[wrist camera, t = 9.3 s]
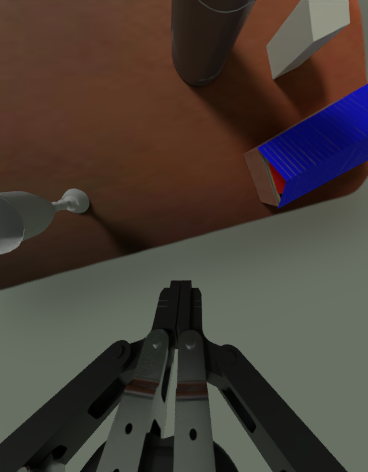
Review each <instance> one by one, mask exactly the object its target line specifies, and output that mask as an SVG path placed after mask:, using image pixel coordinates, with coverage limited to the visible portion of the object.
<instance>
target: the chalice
mask: <svg viewBox="0 0 368 472" xmlns="http://www.w3.org/2000/svg"><path fill="white" fill-rule="evenodd" d="M88 208H89V199H88V197H87V195H86V194H85V193H84V192H82V191H81V190H78V189H70V190H68V191H66V193H65V194H64V196H63V197H62V200H59V201H58V202H52V203H51V202H49V201H48V200H46V199H44V198H42V197H40V196H37V195H33V194H30V193H27V192H17V191H16V192H5V193H0V254H3V253H7V252H10V251H12V250H13V249H15V248H16V247H18V246H19V244H20V243H21V242H22V241H24V240H26V239H28V238H31V237H33V236H35V235H38V234H40V233H41V232H43V231H44V230H45V229H46V228H47V227H48V225H49V224H50V223H51V221H52V220H53V217H54V215H55V211H59V210H60V209H62V210H65V209H67V210H68V211H71V212H74V213H83V212H85V211H86V210H87V209H88Z"/></svg>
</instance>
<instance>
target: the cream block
mask: <svg viewBox="0 0 368 472" xmlns="http://www.w3.org/2000/svg"><path fill="white" fill-rule="evenodd" d="M349 23H350V20H349V2H348V0H301V1H300V2H299V3H298V5H297V6H296V7H295V9H294V10H293V11H292V13H291V14H290V15H289V17H288V18H287V19H286V21H285V22H284V23H283V25H282V26H281V27H280V29H279V30H278V31H277V33H276V34H275V35H274V37H273V38H272V39H271V41H270V42H269V43H268V45H267V46H266V47H267V52H268V57H269V62H270V67H271V72H272V77H273V79H275V78H277V77H279V76H281V75H283V74H285V73H287V72H289V71H291V70H293V69H295V68H297V67H299V66H300V65H301V64H302V63H303V62H305V61H306V60H307V59H308V58H309V57H311V56H312V55H313V54H314V53H315V52H316V51H318V50H319V49H320V48H321V47H322V46H323V45H325V44H326V43H327V42H328V41H329V40H331V39H332V38H333V37H334V36H335V35H336V34H338V33H339V32H340V31H341V30H342V29H343V28H345V27H346V26H347V25H348V24H349Z"/></svg>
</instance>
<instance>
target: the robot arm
mask: <svg viewBox="0 0 368 472" xmlns="http://www.w3.org/2000/svg"><path fill="white" fill-rule="evenodd" d="M255 1H256V0H172V12H171V30H172V58H173V63H174V65H175V68H176V70H177V72H178V74H179V75H180V77H181V78H182V79H183V80H184V81H186V82H187V83H188V84H190V85H193V86H198V87H199V86H205V85H208V84H210V83H211V82H213V81H214V80H215V79H216V78H217V77H218V75H219V73H220V72H221V70H222V68H223V66H224V64H225V62H226V60H227V58H228V56H229V54H230V52H231V50H232V48H233V46H234V44H235V42H236V40H237V38H238V36H239V34H240V32H241V30H242V28H243V26H244V24H245V22H246V20H247V17H248V15H249V13H250V11H251V9H252V7H253V5H254V3H255ZM175 349H178V370H177V374H178V375H177V389H176V398H175V399H176V400H175V432H174V436H171V437H168V438H164V439H163V436H164V430H165V423H166V415H167V400H168V394H169V388H170V382H171V376H172V370H173V364H174V351H175ZM206 382H208V383H210V384H212V385H214V386H216V387H217V388H218V390H219V391H220V393H221V394H222V395H223V397H224V399H225V400H226V402H227V403H228V405H229V406H230V408H231V409H232V411H233V412H234V414H235V415H236V417H237V418H238V420H239V421H240V423H241V424H242V426H243V427H244V429H245V430H246V432H247V434H248V435H249V437H250V438H251V439H252V441H253V442H254V444H255V445H256V447H257V448H258V450H259V452H260V453H261V455H262V456H263V458H264V459H265V461H266V462H267V464H268V465H269V467H270V468H271V470H272V471H273V472H347V471H346V470H345V468H344V467H343V466H342V465H341V464H340V463H339V462H338V461H337V460H336V458H335V457H334V456H333V455H332V454H331V453H330V452H329V451H328V449H326V447H325V446H324V445H323V444H322V443H321V442H320V441H319V439H318V438H317V437H316V436H315V435H314V434H313V433H312V432H311V430H309V428H308V427H307V426H306V425H305V424H304V423H303V422H302V420H301V419H300V418H299V417H298V416H297V415H296V414H295V412H294V411H293V410H292V409H291V408H290V407H289V406H288V405H287V403H286V402H285V401H284V400H283V399H282V398H281V397H280V396H279V395H278V393H277V392H276V391H275V390H274V389H273V388H272V387H271V386H270V384H269V383H268V382H267V381H266V380H265V379H264V378H263V377H262V376H261V374H260V373H259V372H258V371H257V370H256V369H255V368H254V367H253V365H252V364H251V363H250V362H249V361H248V360H247V359H246V358H245V356H244V355H242V353H241V352H240V351H239V350H238V349H237V348H236V347H234V346H232V345H228V344H227V345H223V346H219V345H217V344H214V343H212V342H210V341H209V340H208V339H207V338H206V337H205V336H204V334H203V330H202V301H201V292H200V290H199V288H192V283H191V280H189V281H188V280H187V281H184V280H183V281H171V285H170V288H164V289H163V290H162V292H161V293H160V297H159V301H158V305H157V309H156V314H155V318H154V322H153V326H152V330H151V332H150V333H149V334H148V335H147V337H146V338H144V339H142V340H140V341H137V342H134V343H131V344H129V343H128V342H127V341H125V340H120V341H117V342H115V343H113V344H112V345H111V346H110V347H109V348H107V349H106V350H105V351H104V352H103V353H102V354H101V355H100V356H98V357H97V358H96V359H95V360H94V361H93V362H92V363H91V364H89V365H88V366H87V367H86V368H85V369H84V370H83V371H82V372H81V373H79V374H78V375H77V376H76V377H75V378H74V379H73V380H71V381H70V382H69V383H68V384H67V385H66V386H65V387H64V388H62V389H61V390H60V391H59V392H58V393H57V394H56V395H55V396H53V397H52V398H51V399H50V400H49V401H48V402H47V403H46V404H44V405H43V406H42V407H41V408H40V409H39V410H38V411H36V412H35V413H34V414H33V415H32V416H31V417H30V418H29V419H28V420H26V421H25V422H24V423H23V424H22V425H21V426H20V427H19V428H18V429H16V430H15V431H14V432H13V433H12V434H11V435H10V436H8V437H7V438H6V439H5V440H4V441H3V442H2V443H1V444H0V472H64V471H65V465H66V464H67V463H68V461H69V460H70V459H71V458H72V457H73V456H74V455H75V453H76V452H77V451H78V450H79V449H80V448H81V446H82V445H83V444H84V443H85V442H86V440H87V439H88V438H89V437H90V436H91V435H92V434H93V433H94V431H95V430H96V429H97V428H98V427H99V426H100V425H101V423H102V422H103V421H104V420H105V419H106V418H107V416H108V415H109V414H110V413H111V412H112V411H113V409H114V408H115V407H116V406H117V405H118V404H119V403H120V404H119V407H118V410H117V412H116V415H115V418H114V421H113V424H112V427H111V430H110V433H109V436H108V439H107V441H105V442H104V443H103V444H102V445H101V446H100V447H99V448H98V449H97V450H96V452H95V453H94V454H93V456H92V457H91V458H90V459H89V461H88V462H87V463H86V464H85V466H84V467H83V468H82V470H81V471H80V472H238V470H237V468H236V466H235V464H234V463H233V461H232V460H231V458H230V457H229V455H228V454H227V453H226V452H225V451H224V449H222V448H221V447H220V446H219V445H218V444H217V443H215V442H214V441H213V438H212V429H211V418H210V408H209V399H208V389H207V383H206Z"/></svg>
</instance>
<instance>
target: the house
mask: <svg viewBox="0 0 368 472" xmlns="http://www.w3.org/2000/svg"><path fill="white" fill-rule="evenodd" d="M243 155H244V157H245V160H246V163H247V166H248V168H249V171H250V174H251V176H252V179H253V182H254V184H255V187H256V190H257V193H258V195H259V198H260V201H261V202H263V203H267V204H271V205H274V206H278V208H280V207H282V206H284V205H286V204H288V203H289V202H291V201H293V200H295V199H297V198H299V197H301V196H302V195H304V194H306V193H308V192H310V191H312V190H313V189H315V188H317V187H319V186H321V185H323V184H325V183H326V182H328V181H330V180H332V179H334V178H336V177H338V176H339V175H341V174H343V173H345V172H347V171H349V170H351V169H352V168H354V167H356V166H358V165H360V164H362V163H363V162H365V161H367V160H368V84H366V85H364V86H363V87H361V88H359V89H358V90H356V91H354V92H353V93H351V94H349V95H347V96H345V97H343V98H341V99H339V100H336V101H334V102H332V103H330V104H329V105H327V106H325V107H323V108H322V109H320V110H318V111H317V112H315V113H313V114H311V115H310V116H308V117H306V118H304V119H303V120H301V121H299V122H298V123H296V124H294V125H292V126H291V127H289V128H287V129H286V130H284V131H282V132H280V133H279V134H277V135H275V136H274V137H272V138H270V139H268V140H267V141H265V142H263V143H262V144H260V145H258V146H256V147H255V148H253V149H251V150H250V151H248V152H246V153H244V154H243ZM266 160H267V161H266ZM268 161H269V162H268ZM267 163H268V164H267ZM268 166H269V167H268ZM269 169H270V170H269ZM270 172H271V173H270ZM271 175H272V176H271ZM272 178H273V179H272ZM273 181H274V182H273ZM285 181H286V182H285ZM274 184H275V185H274ZM275 187H276V188H275ZM276 190H277V191H276Z"/></svg>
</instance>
